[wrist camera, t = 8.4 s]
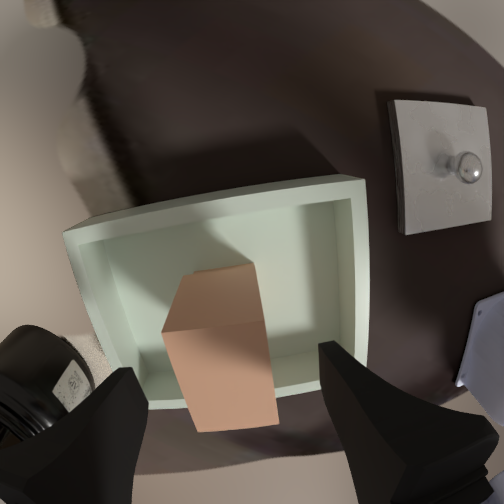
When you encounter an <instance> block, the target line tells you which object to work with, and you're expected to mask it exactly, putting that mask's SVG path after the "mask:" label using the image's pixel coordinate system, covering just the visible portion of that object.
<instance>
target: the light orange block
mask: <svg viewBox="0 0 504 504" xmlns="http://www.w3.org/2000/svg"><path fill="white" fill-rule="evenodd" d="M161 335H162V338H163V341H164V344H165V347H166V350H167V353H168V356H169V358H170V361H171V364H172V367H173V370H174V373H175V375H176V378H177V381H178V383H179V386H180V389H181V391H182V394H183V396H184V399H185V402H186V404H187V407H188V409H189V412H190V414H191V416H192V419H193V421H194V424H195V426H196V428H197V431H198V432H209V431H223V430H234V429H244V428H253V427H261V426H268V425H275V424H279V419H278V412H277V404H276V397H275V390H274V383H273V376H272V368H271V361H270V354H269V347H268V340H267V333H266V326H265V319H264V313H263V308H262V302H261V297H260V291H259V286H258V280H257V275H256V269H255V265H254V263H248V264H242V265H235V266H228V267H221V268H214V269H208V270H201V271H194V273H193V274H190V275H183V277H182V279H181V282H180V284H179V287H178V289H177V292H176V294H175V297H174V300H173V302H172V305H171V307H170V310H169V313H168V315H167V318H166V321H165V323H164V326H163V329H162V331H161Z"/></svg>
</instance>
